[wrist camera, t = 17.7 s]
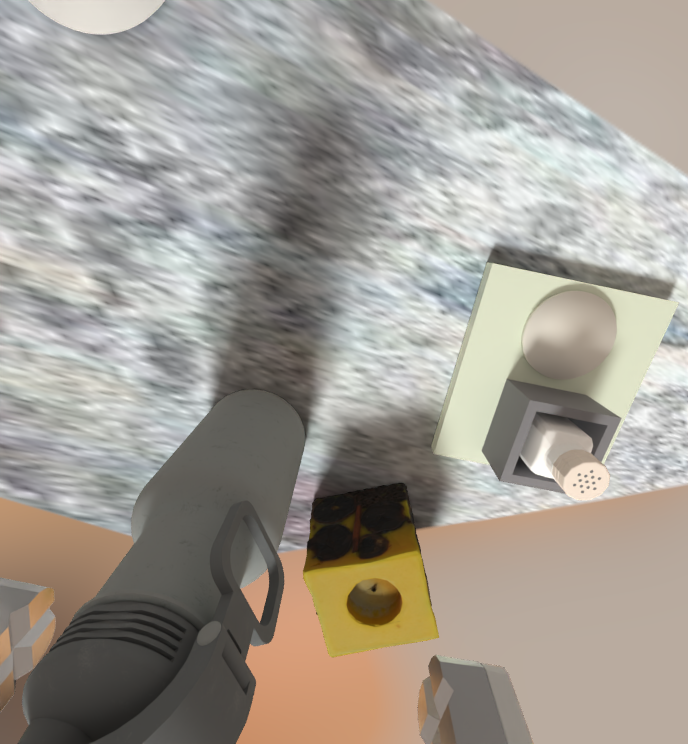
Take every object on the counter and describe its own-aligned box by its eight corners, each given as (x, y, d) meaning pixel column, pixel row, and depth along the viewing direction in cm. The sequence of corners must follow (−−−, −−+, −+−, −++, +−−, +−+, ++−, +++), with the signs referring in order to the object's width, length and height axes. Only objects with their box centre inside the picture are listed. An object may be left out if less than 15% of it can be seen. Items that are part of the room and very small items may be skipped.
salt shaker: (543, 445, 37) (603, 510, 28) (502, 437, 37) (549, 500, 28) (558, 407, 36) (626, 462, 27) (515, 399, 36) (569, 451, 27)
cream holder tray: (486, 262, 34) (516, 266, 27) (665, 300, 34) (733, 312, 28) (431, 446, 39) (445, 484, 33) (585, 476, 40) (627, 519, 34)
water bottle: (288, 371, 37) (118, 693, 11) (324, 458, 40) (262, 886, 13) (191, 404, 39) (-174, 763, 12) (233, 485, 41) (12, 925, 15)
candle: (333, 571, 45) (327, 660, 35) (309, 497, 42) (296, 572, 32) (423, 556, 44) (441, 643, 34) (405, 479, 41) (420, 551, 31)
